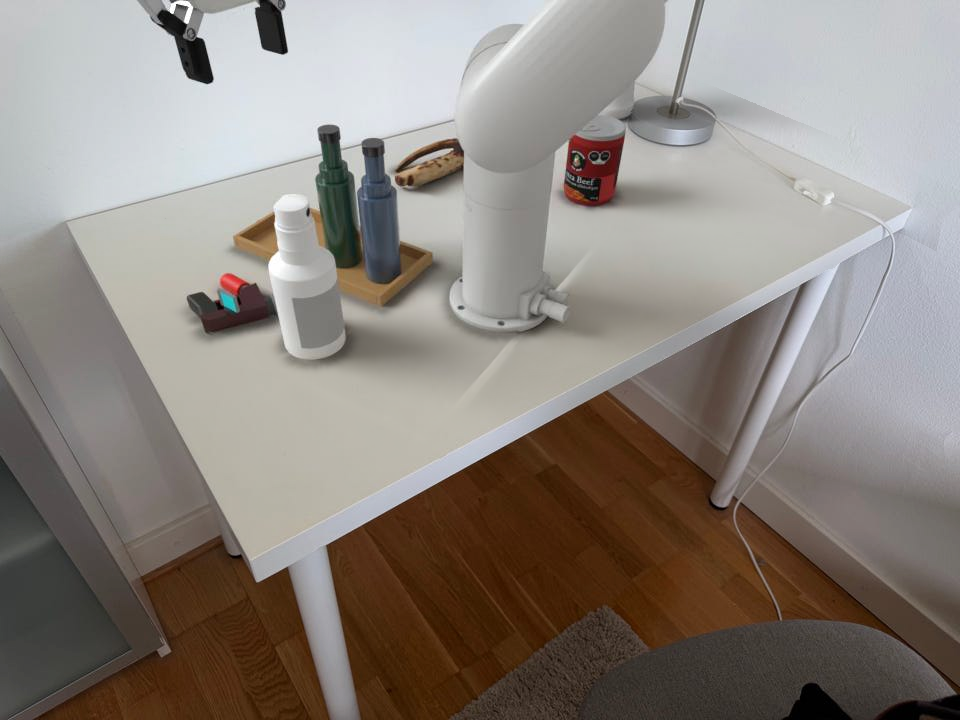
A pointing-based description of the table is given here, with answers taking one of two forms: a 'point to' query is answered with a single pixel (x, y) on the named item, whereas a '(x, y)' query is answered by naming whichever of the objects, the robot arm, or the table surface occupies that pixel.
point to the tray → (350, 280)
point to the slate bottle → (378, 217)
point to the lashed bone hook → (431, 163)
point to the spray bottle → (305, 283)
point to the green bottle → (337, 201)
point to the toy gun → (232, 305)
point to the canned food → (594, 161)
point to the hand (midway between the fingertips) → (239, 65)
